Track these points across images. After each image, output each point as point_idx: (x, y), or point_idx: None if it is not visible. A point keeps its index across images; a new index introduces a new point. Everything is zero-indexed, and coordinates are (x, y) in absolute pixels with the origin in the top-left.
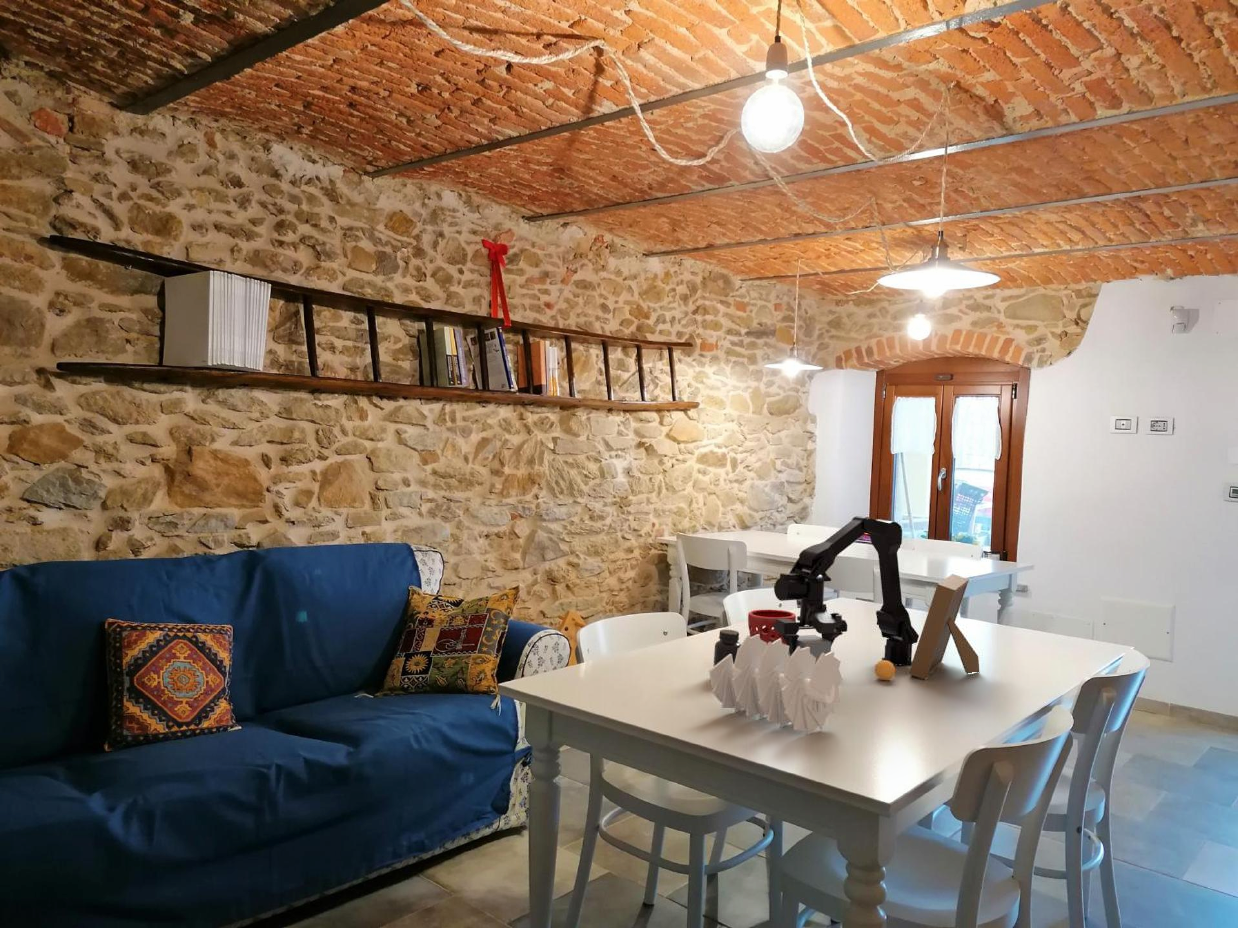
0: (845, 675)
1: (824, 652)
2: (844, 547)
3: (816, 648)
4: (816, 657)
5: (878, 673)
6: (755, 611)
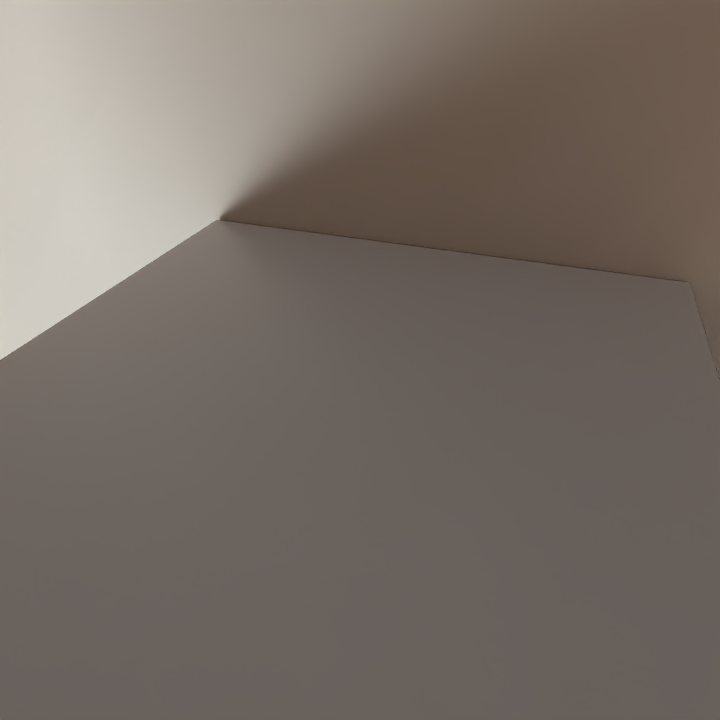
0: (6, 173)
1: (65, 464)
2: None
3: (253, 659)
4: (350, 439)
5: None
6: None
